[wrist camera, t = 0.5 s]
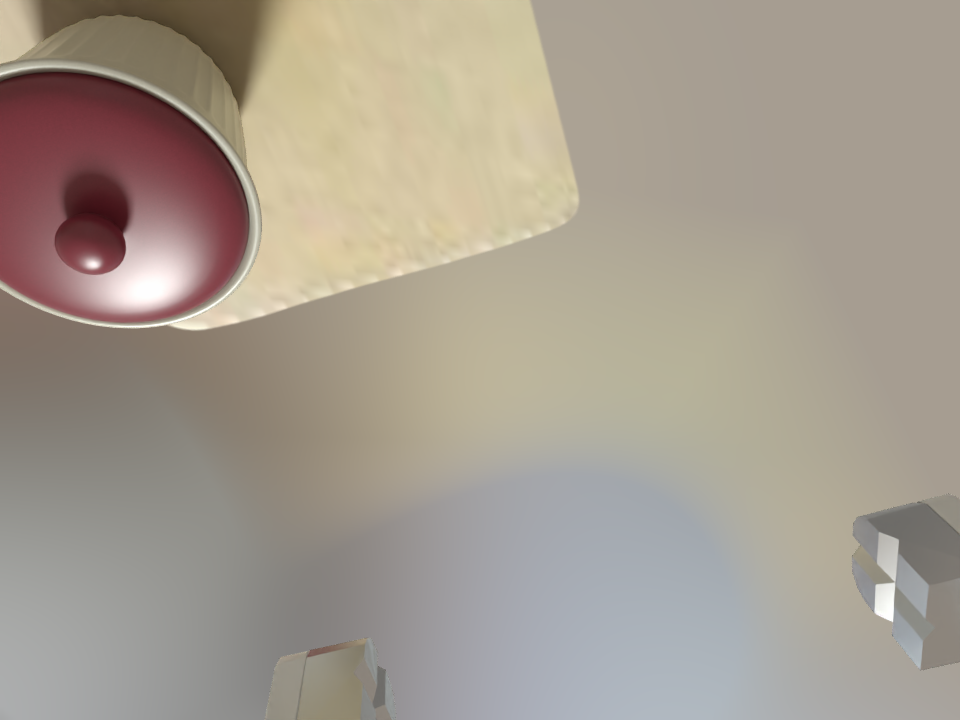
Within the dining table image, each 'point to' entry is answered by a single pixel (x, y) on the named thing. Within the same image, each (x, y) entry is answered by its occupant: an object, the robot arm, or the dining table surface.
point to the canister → (123, 177)
